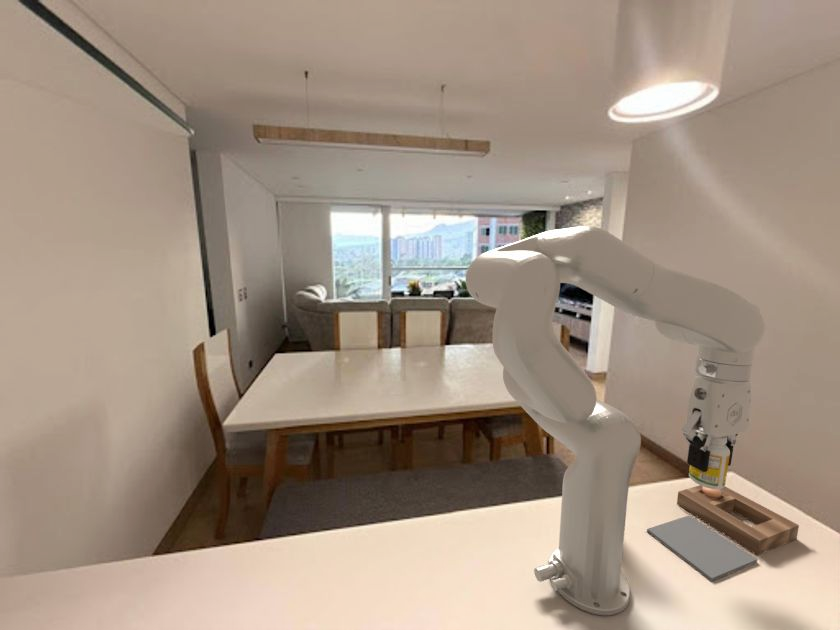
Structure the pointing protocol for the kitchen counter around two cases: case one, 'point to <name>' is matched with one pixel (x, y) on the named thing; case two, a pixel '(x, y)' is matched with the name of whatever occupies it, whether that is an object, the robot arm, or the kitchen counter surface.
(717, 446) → the supplement bottle
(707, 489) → the peach rounded piece
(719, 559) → the pad
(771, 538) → the housing
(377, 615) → the kitchen counter surface
